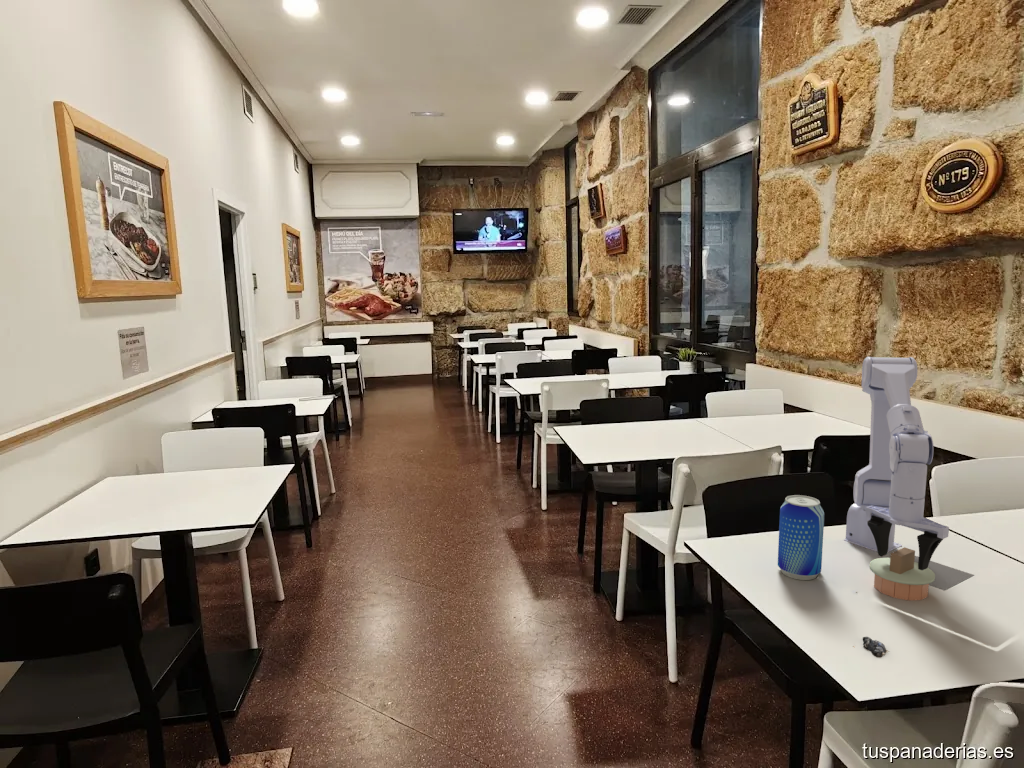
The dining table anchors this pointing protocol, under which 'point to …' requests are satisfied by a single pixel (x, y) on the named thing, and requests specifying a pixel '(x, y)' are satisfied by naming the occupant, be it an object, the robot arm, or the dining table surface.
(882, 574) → the lid
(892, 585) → the bowl
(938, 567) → the mat
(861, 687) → the dining table surface
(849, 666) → the dining table surface
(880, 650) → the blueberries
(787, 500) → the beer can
